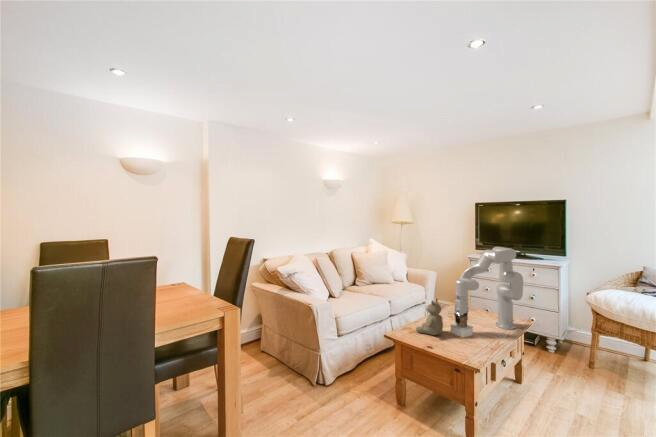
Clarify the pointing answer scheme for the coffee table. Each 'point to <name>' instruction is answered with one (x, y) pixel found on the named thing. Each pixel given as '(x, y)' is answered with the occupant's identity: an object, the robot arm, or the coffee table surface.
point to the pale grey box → (461, 330)
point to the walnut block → (462, 321)
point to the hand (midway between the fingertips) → (461, 321)
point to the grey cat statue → (432, 320)
